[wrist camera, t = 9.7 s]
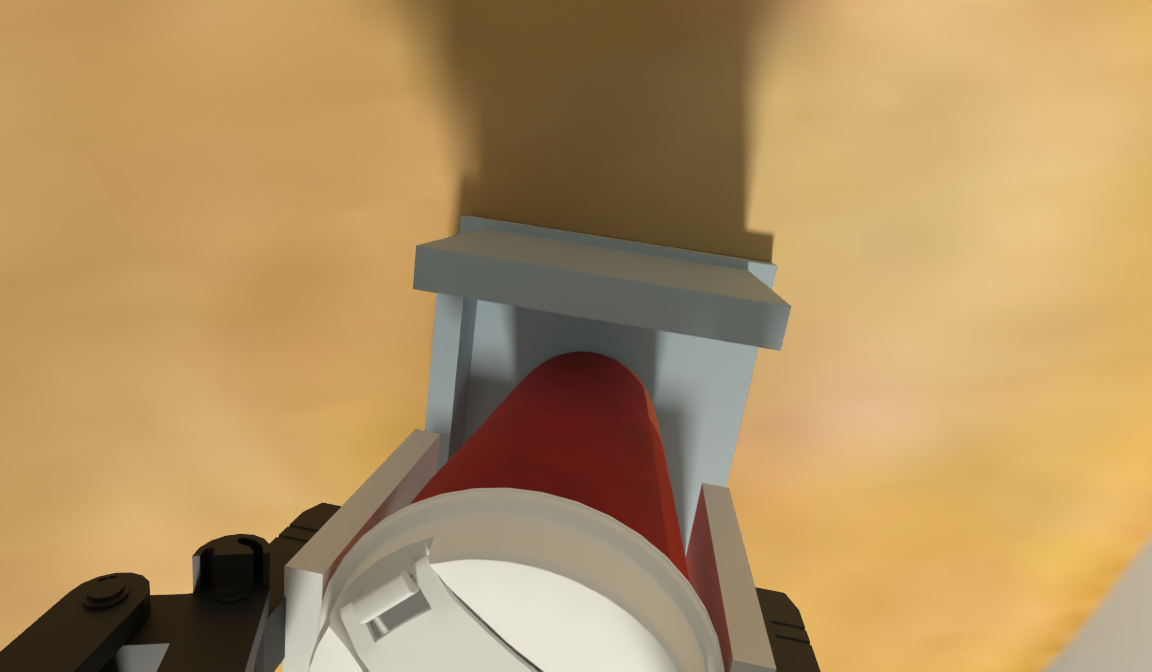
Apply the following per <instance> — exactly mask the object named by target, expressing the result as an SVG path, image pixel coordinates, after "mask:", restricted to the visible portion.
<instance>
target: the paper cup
mask: <svg viewBox="0 0 1152 672" xmlns="http://www.w3.org/2000/svg"><path fill="white" fill-rule="evenodd" d="M316 635H317V637H316V644H315V647H314V650H313V653H312V655H311V658H310V663H309V671H308V672H725V671H724V663H723V659H722V654H721V650H720V645H719V640H718V636H717V634H716V632H715V629H714V627H713V624H712V622H711V620H710V617H709V615H708V612H707V610H706V608H705V606H704V605H703V603H702V602H701V600H700V598H699V597H698V595H697V594H696V592H695V591H694V589H693V587H692V586H691V584H690V580H689V574H688V569H687V564H686V559H685V554H684V549H683V544H682V539H681V534H680V529H679V524H678V518H677V513H676V508H675V503H674V498H673V493H672V488H671V483H670V478H669V473H668V468H667V463H666V458H665V453H664V448H663V444H662V439H661V434H660V430H659V425H658V421H657V417H656V413H655V409H654V406H653V403H652V401H651V398H650V396H649V393H648V391H647V390H646V388H645V386H644V385H643V383H642V382H641V381H640V379H639V378H638V377H637V376H636V375H635V374H634V373H633V372H632V371H631V370H630V369H629V368H628V367H626V366H625V365H624V364H622V363H620V362H619V361H617V360H615V359H613V358H611V357H608V356H605V355H602V354H598V353H593V352H570V353H565V354H561V355H558V356H555V357H553V358H550V359H548V360H546V361H545V362H543V363H541V364H540V365H539V366H537V367H536V368H535V369H534V370H532V371H531V372H530V373H529V374H528V375H527V376H526V377H525V378H524V379H523V380H522V381H521V382H520V383H519V384H518V385H517V386H516V387H515V388H514V389H513V390H512V392H511V393H510V394H509V395H508V396H507V397H506V398H505V399H504V400H503V401H502V403H501V404H500V405H499V406H498V407H497V408H496V409H495V410H494V412H493V413H492V414H491V415H490V416H489V417H488V418H487V419H486V421H485V422H484V423H483V424H482V425H481V426H480V427H479V428H478V430H477V431H476V432H475V433H474V434H473V435H472V436H471V437H470V438H469V439H468V440H467V441H466V443H465V444H464V445H463V446H462V447H461V448H460V449H459V450H458V451H457V452H456V453H455V454H454V455H453V456H452V457H451V458H450V459H449V460H448V461H447V463H446V464H445V465H444V466H443V467H442V468H441V469H440V470H439V471H438V472H437V473H436V474H435V475H434V476H433V477H432V478H431V479H430V480H429V482H428V483H427V484H426V485H425V486H424V488H423V489H422V490H421V491H420V492H419V494H418V495H417V496H416V497H415V498H414V500H413V501H412V502H411V503H410V504H409V506H407V507H405V508H403V509H401V510H399V511H397V512H396V513H394V514H392V515H390V516H388V517H386V518H385V519H383V520H382V521H381V522H380V523H378V524H377V525H376V526H374V527H373V528H372V529H371V530H369V531H368V532H367V533H366V534H364V535H363V536H362V537H361V538H360V539H359V540H358V542H357V543H356V544H355V545H354V546H353V547H352V548H351V550H350V551H349V552H348V553H347V554H346V555H345V557H344V558H343V559H342V561H341V562H340V564H339V566H338V567H337V569H336V571H335V573H334V574H333V576H332V578H331V580H330V581H329V583H328V586H327V589H326V592H325V595H324V598H323V601H322V604H321V606H320V612H319V619H318V626H317V633H316Z"/></svg>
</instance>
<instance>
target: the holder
mask: <svg viewBox="0 0 1152 672" xmlns="http://www.w3.org/2000/svg"><path fill="white" fill-rule="evenodd" d="M776 269H777V266H776V265H775V264H773V263H770V262H764V261H757V260H751V259H745V258H738V257H732V256H726V255H719V254H713V253H706V252H700V251H694V250H687V249H681V248H674V247H668V246H662V245H655V244H649V243H643V242H636V241H630V240H623V239H617V238H611V237H604V236H598V235H591V234H585V233H579V232H572V231H566V230H560V229H553V228H547V227H540V226H534V225H528V224H521V223H515V222H509V221H502V220H496V219H489V218H483V217H477V216H470V215H466V216H460V227H459V235H456V236H452V237H448V238H444V239H440V240H436V241H432V242H428V243H424V244H420V245H416V256H415V269H414V282H413V289H416V290H422V291H428V292H434V293H437V297H436V308H435V320H434V332H433V344H432V355H431V367H430V379H429V390H428V402H427V414H426V426H425V431H427V432H433V433H438V434H440V444H439V455H438V466H437V472H438V471H439V470H440V469H441V468H442V467H443V466H444V465H445V464H446V463H447V461H448V460H449V459H450V458H451V457H452V456H453V455H454V454H455V453H456V452H457V451H458V450H459V449H460V448H461V447H462V446H463V445H464V444H465V443H466V441H467V440H468V439H469V438H470V437H471V436H472V435H473V434H474V433H475V432H476V431H477V430H478V428H479V427H480V426H481V425H482V424H483V423H484V422H485V421H486V419H487V418H488V417H489V416H490V415H491V414H492V413H493V412H494V410H495V409H496V408H497V407H498V406H499V405H500V404H501V403H502V401H503V400H504V399H505V398H506V397H507V396H508V395H509V394H510V393H511V392H512V390H513V389H514V388H515V387H516V386H517V385H518V384H519V383H520V382H521V381H522V380H523V379H524V378H525V377H526V376H527V375H528V374H529V373H530V372H531V371H532V370H534V369H535V368H536V367H537V366H539V365H540V364H541V363H543V362H545V361H546V360H548V359H550V358H553V357H555V356H558V355H561V354H565V353H570V352H593V353H598V354H602V355H605V356H608V357H611V358H613V359H615V360H617V361H619V362H620V363H622V364H624V365H625V366H626V367H628V368H629V369H630V370H631V371H632V372H633V373H634V374H635V375H636V376H637V377H638V378H639V379H640V381H641V382H642V383H643V385H644V386H645V388H646V390H647V391H648V393H649V396H650V398H651V401H652V403H653V406H654V409H655V413H656V417H657V421H658V425H659V430H660V434H661V439H662V444H663V448H664V453H665V458H666V463H667V468H668V473H669V478H670V483H671V488H672V493H673V498H674V503H675V508H676V513H677V518H678V524H679V529H680V534H681V539H682V544H683V549H684V554H685V558H686V553H687V549H688V544H689V540H690V535H691V530H692V526H693V521H694V517H695V512H696V508H697V503H698V499H699V494H700V490H701V485H702V483H706V484H711V485H717V486H722V487H726V485H727V480H728V476H729V472H730V468H731V463H732V459H733V455H734V450H735V446H736V442H737V437H738V433H739V429H740V424H741V420H742V416H743V411H744V407H745V403H746V399H747V394H748V390H749V386H750V381H751V377H752V373H753V368H754V364H755V360H756V355H757V351H758V347H761V348H767V349H773V350H779V351H780V350H781V346H782V342H783V338H784V333H785V329H786V325H787V321H788V317H789V313H790V309H791V306H790V305H789V304H788V303H787V302H785V301H784V300H783V299H782V298H781V297H780V296H778V295H777V294H776V293H775V292H774V291H772V286H773V282H774V278H775V273H776Z"/></svg>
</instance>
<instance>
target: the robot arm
mask: <svg viewBox="0 0 1152 672" xmlns="http://www.w3.org/2000/svg"><path fill="white" fill-rule="evenodd" d="M439 444H440V434H438V433H433V432H427V431H422V430H417V429H415V430H414V431H413V432H412V433H411V435H410V436H409V437H408V438H407V439H406V440H405V441H404V442H403V443H402V444H401V445H400V446H399V447H398V448H397V449H396V450H395V451H394V452H393V453H392V454H391V455H390V456H389V458H388V459H387V460H386V461H385V462H384V463H383V464H382V465H381V466H380V467H379V468H378V469H377V470H376V471H375V472H374V473H373V474H372V475H371V476H370V477H369V478H368V479H367V481H366V482H365V483H364V484H363V485H362V486H361V487H360V488H359V489H358V490H357V491H356V492H355V493H354V494H353V495H352V496H351V497H350V498H349V499H348V500H347V501H346V502H345V504H344V505H343V506H337V505H332V504H327V503H321V504H319V505H317V506H315V507H313V508H310V509H308V510H306V511H304V512H303V513H302V514H300V515H299V516H298V517H297V518H296V519H295V520H294V521H293V522H292V523H291V524H290V526H289V527H287V528H286V529H285V530H284V531H283V532H281V533H280V534H279V537H276V538H275V539H274V540H273V541H272V542H271V543H270V544H269V543H268V542H267V541H266V540H265V539H263V538H261V537H258V536H255V535H248V534H236V535H228V536H224V537H221V538H218V539H215V540H212V541H210V542H208V543H207V544H205V545H203V546H202V547H200V548H199V549H198V550H197V551H196V552H195V554H194V555H193V556H192V559H193V593H190V594H175V595H150V586H149V581H148V580H147V579H146V578H145V577H144V576H142V575H138V574H134V573H113V574H109V575H104V576H100V577H97V578H94V579H92V580H90V581H87V582H85V583H82V584H81V585H79V586H78V587H76V588H75V589H73V590H72V591H70V592H69V593H68V594H67V595H65V596H64V597H63V598H62V599H61V600H60V601H59V602H57V603H56V604H55V605H54V606H53V607H52V608H50V609H49V610H48V611H47V612H46V613H45V614H43V615H42V616H41V617H40V618H39V619H38V620H37V621H35V622H34V623H33V624H32V625H31V626H30V627H28V628H27V629H26V630H25V631H24V632H23V633H22V634H20V635H19V636H18V637H17V638H16V639H15V640H13V641H12V642H11V643H10V644H9V645H8V646H6V647H5V648H4V649H3V650H2V651H1V652H0V672H274V671H275V670H276V668H277V667H278V666H279V664H280V663H281V662H282V661H283V668H282V672H308V671H309V663H310V658H311V655H312V653H313V650H314V647H315V644H316V637H317V635H316V633H317V626H318V619H319V612H320V606H321V604H322V601H323V598H324V595H325V592H326V589H327V586H328V583H329V581H330V580H331V578H332V576H333V574H334V573H335V571H336V569H337V567H338V566H339V564H340V562H341V561H342V559H343V558H344V557H345V555H346V554H347V553H348V552H349V551H350V550H351V548H352V547H353V546H354V545H355V544H356V543H357V542H358V540H359V539H360V538H361V537H362V536H363V535H364V534H366V533H367V532H368V531H369V530H371V529H372V528H373V527H374V526H376V525H377V524H378V523H380V522H381V521H382V520H383V519H385V518H386V517H388V516H390V515H392V514H394V513H396V512H397V511H399V510H401V509H403V508H405V507H407V506H409V504H410V503H411V502H412V501H413V500H414V498H415V497H416V496H417V495H418V494H419V492H420V491H421V490H422V489H423V488H424V486H425V485H426V484H427V483H428V482H429V480H430V479H431V478H432V477H433V476H434V475H435V474H436V473H437V466H438V455H439ZM685 559H686V564H687V569H688V574H689V580H690V584H691V586H692V587H693V589H694V591H695V592H696V594H697V595H698V597H699V598H700V600H701V602H702V603H703V605H704V606H705V608H706V610H707V612H708V615H709V617H710V620H711V622H712V624H713V627H714V629H715V632H716V634H717V636H718V640H719V645H720V650H721V654H722V659H723V663H724V671H725V672H820V669H819V666H818V663H817V660H816V657H815V655H814V652H813V649H812V646H811V645H810V640H809V637H808V635H807V632H806V631H805V626H804V623H803V620H802V618H801V615H800V612H799V610H798V608H797V607H796V606H795V605H794V604H793V603H792V601H791V600H790V599H789V598H788V597H787V595H786V594H785V593H781V592H776V591H771V590H766V589H761V588H756V587H755V585H754V582H753V578H752V574H751V570H750V566H749V563H748V559H747V555H746V551H745V547H744V544H743V540H742V536H741V532H740V528H739V524H738V521H737V517H736V513H735V509H734V505H733V502H732V498H731V494H730V490H729V488H727V487H722V486H717V485H711V484H706V483H702V485H701V490H700V494H699V499H698V503H697V508H696V512H695V517H694V521H693V526H692V530H691V535H690V540H689V544H688V549H687V553H686V558H685Z"/></svg>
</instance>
